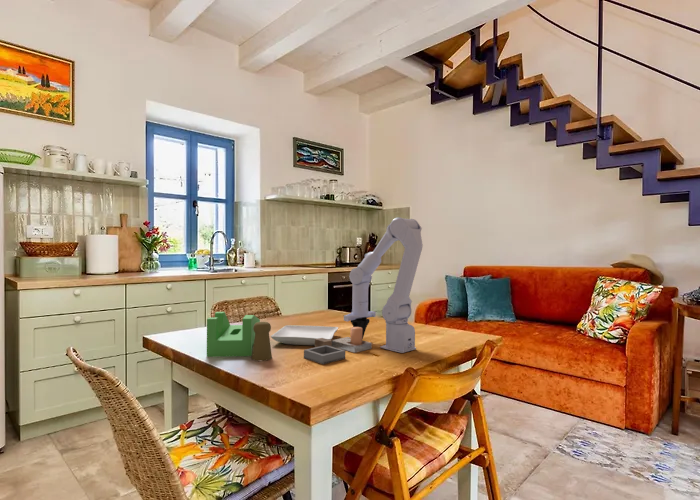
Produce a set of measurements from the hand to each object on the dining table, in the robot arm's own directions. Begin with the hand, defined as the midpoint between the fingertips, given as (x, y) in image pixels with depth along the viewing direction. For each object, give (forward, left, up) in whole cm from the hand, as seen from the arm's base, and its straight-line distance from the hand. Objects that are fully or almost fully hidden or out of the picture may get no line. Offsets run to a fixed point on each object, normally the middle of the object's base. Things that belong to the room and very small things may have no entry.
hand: (359, 338), depth 145 cm
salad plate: (+14, +13, -1) cm, 19 cm away
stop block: (-1, +18, -1) cm, 18 cm away
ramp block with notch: (+22, +37, -2) cm, 43 cm away
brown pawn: (+4, +38, -1) cm, 38 cm away
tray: (-9, +24, -1) cm, 26 cm away
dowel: (-7, +8, -1) cm, 11 cm away
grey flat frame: (-4, +8, -1) cm, 10 cm away
